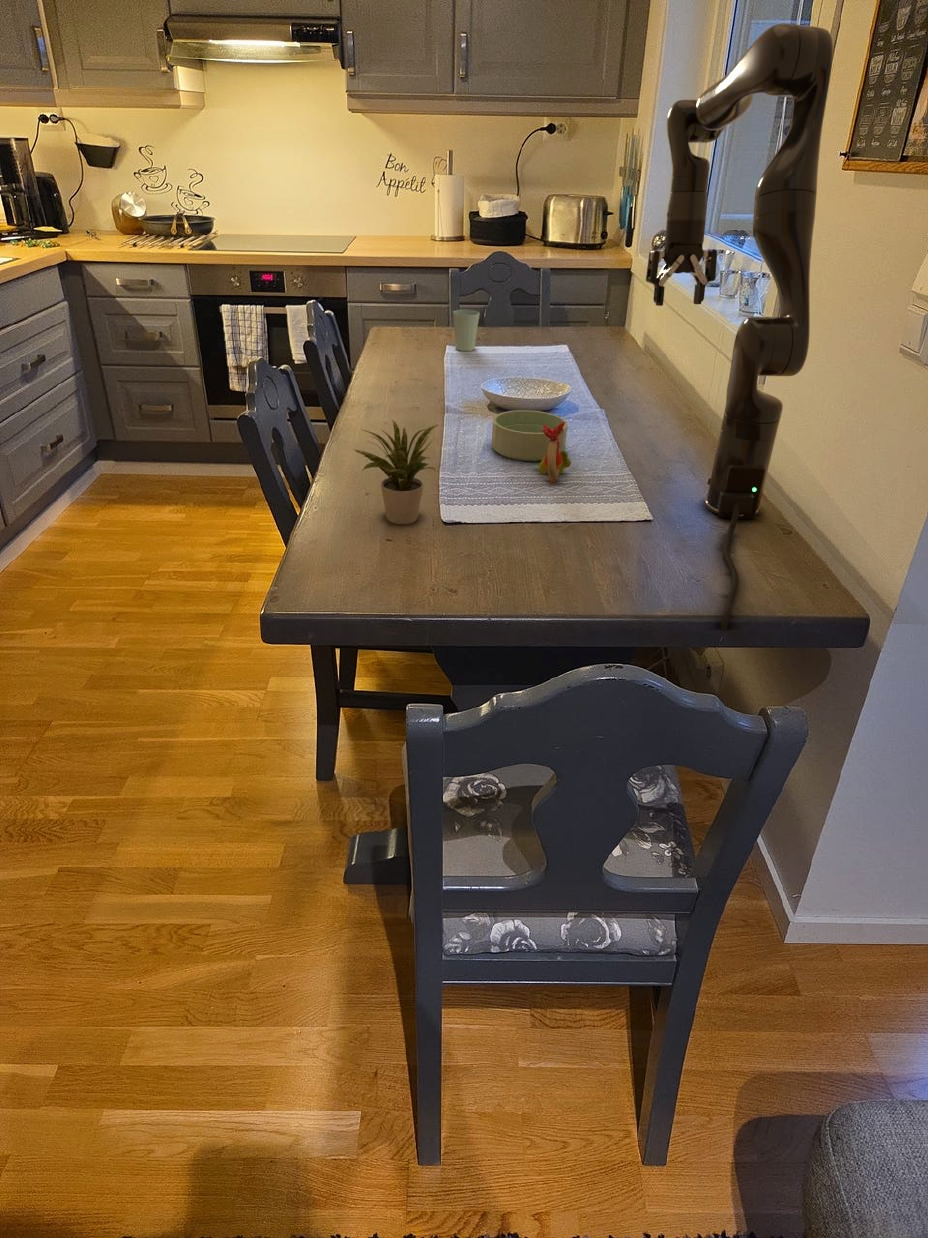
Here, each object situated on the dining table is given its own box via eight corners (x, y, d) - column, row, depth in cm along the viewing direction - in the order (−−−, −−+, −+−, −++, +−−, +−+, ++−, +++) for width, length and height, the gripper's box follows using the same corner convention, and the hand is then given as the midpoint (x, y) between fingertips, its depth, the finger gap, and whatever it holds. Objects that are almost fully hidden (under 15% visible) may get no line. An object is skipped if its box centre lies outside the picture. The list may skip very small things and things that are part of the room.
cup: (446, 349, 246) (448, 312, 241) (459, 344, 252) (461, 308, 247) (469, 353, 243) (471, 315, 238) (481, 348, 249) (484, 311, 244)
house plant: (403, 492, 152) (403, 403, 143) (462, 514, 144) (465, 421, 136) (346, 515, 142) (342, 421, 134) (405, 539, 135) (406, 442, 126)
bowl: (565, 464, 167) (568, 435, 164) (489, 460, 168) (491, 430, 165) (563, 439, 180) (565, 412, 177) (492, 435, 181) (494, 408, 178)
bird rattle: (568, 493, 160) (571, 460, 165) (574, 450, 151) (576, 416, 156) (536, 490, 160) (539, 457, 166) (539, 447, 151) (542, 414, 157)
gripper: (661, 218, 160) (654, 307, 168) (728, 217, 163) (718, 305, 170) (645, 218, 167) (638, 304, 174) (710, 216, 170) (701, 301, 177)
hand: (678, 304), depth 172 cm, fingers open, 8 cm apart
